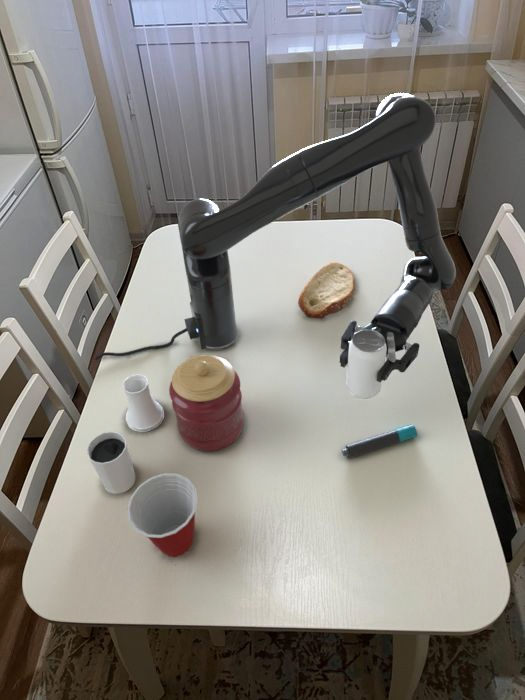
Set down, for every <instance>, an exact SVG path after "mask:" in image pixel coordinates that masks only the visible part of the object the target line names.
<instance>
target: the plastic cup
mask: <svg viewBox="0 0 525 700" xmlns="http://www.w3.org/2000/svg"><path fill="white" fill-rule="evenodd" d="M198 500H199V498H198V494H197V489H196V486H195V485H194V484H193V483H192V481H191V480H190V479H189V478H188V477H186V476H184V475H181V474H179V473H172V472H171V473H170V472H169V473H168V472H167V473H166V472H164V473H160V474H157V475H154V476H151V477H150V478H148V479H146V480H145V481H144V482H142V483H140V484H139V485H138V487H137V488H136V489H135V491H134V492H133V493H132V494H131V496H130V498H129V501H128V505H127V508H126V513H127V520H128V523H129V524H130V526H131V527H132V528H133V530H134V531H135V532H137V533H138V534H140V535H142V536H144V537H146V538H148V539H149V540H150V542H151V543H152V544H153V545H154V546H155V547H156V548H157V549H158V550H159V551H160V553H162V554H164V555H165V556H168V557H175V558H176V557H179V556H182V555H184V554H185V553H186V552H188V551H189V549H190V548H191V546H192V545H193V542H194V537H195V535H194V534H195V523H196V521H195V520H196V509H197V505H198Z"/></svg>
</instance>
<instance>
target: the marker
mask: <svg viewBox="0 0 525 700" xmlns="http://www.w3.org/2000/svg"><path fill="white" fill-rule="evenodd" d="M417 436H418V431H417V429H416V427H415V425H413V424H409V425H406V426H402V427H399V428H396V429H394V430H390V431H387V432H384V433H381V434H377V435H375V436H372V437H368V438H364V439H362V440H359V441H356V442H352V443H349V444H346V445H345V448H344V449H342V450H341V454H342V456H343V457H346V456H348V458H353V457H357V456H359V455H363V454H366V453H369V452H372V451H375V450H378V449H381V448H384V447H388V446H390V445H394V444H397V443H402V442H404V441H408V440H411V439H413V438H416V437H417Z"/></svg>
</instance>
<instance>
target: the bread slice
mask: <svg viewBox="0 0 525 700" xmlns="http://www.w3.org/2000/svg"><path fill="white" fill-rule="evenodd" d="M355 281H356V280H355V275H354V273H353V271H352V270H351V269H350V268H349V267H347V266H346V265H345V264H343V263H340V262H336V261H335V262H334V261H331V262H328V263H327V264H325V265H324V266H322V267H321V269H319V270H318V271H317V272H316V273H315V274H314V275H313V276H312V277H311V279H309V281H308V282H307V283H306V284H305V286H303V289H302V291H301V293H300V294H299V297H298V299H297V304H298V307H299V309H300V310H301V312H302V313H303V314H304V315H305V316H306V318H308V319H316V320H317V319H318V320H319V319H320V320H321V319H324V318H325V317H327V316H329V315H332V314H336V313H338V312H340V311H342V310H343V309H345V308H346V306H347V305H348V304H349V303H350V301H351V300H352V299H353V297H354V293H355V291H356V282H355Z"/></svg>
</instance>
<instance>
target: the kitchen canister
mask: <svg viewBox="0 0 525 700" xmlns="http://www.w3.org/2000/svg"><path fill="white" fill-rule="evenodd" d="M168 392H169V397H170V400H171V406H172V409H173V412H174V414H175V418H176V426H177V431H178V433H179V435H180V437H181V438H182V440H183V442H184V443H186V445H188V446H189V447H190V448H192V449H194V450H197V451H201V452H207V453H208V452H217V451H220V450H224V449H226V448H228V447H230V446H231V445H232V444H234V443H235V442H236V441H237V440H238V439H239V437H240V435H241V434H242V433H243V428H244V424H245V413H244V410H243V405H242V399H243V396H242V390H241V379H240V377H239V374H238V372H237V371H236V370H235V369H234V367H233V366H232V364H231V363H230V362H229V361H228V360H227V359H225V358H223V357H221V356H218V355H214V354H201V355H196V356H193V357H189V358H188V359H186V360H184V361H183V362H181V363H180V364H179V365H178V366H177V367H176V368H175V370H174V372H173V374H172V376H171V381H170V384H169V388H168Z"/></svg>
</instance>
